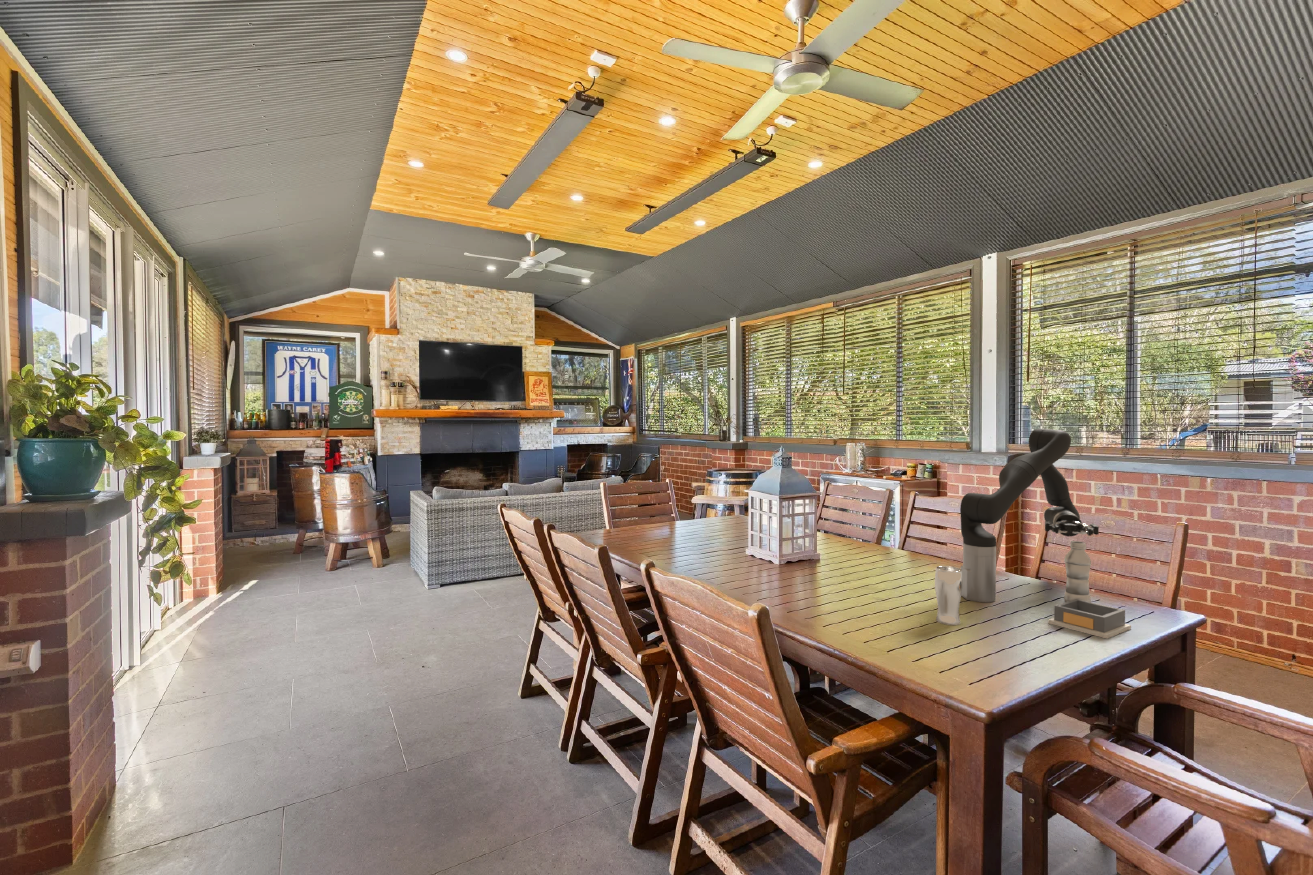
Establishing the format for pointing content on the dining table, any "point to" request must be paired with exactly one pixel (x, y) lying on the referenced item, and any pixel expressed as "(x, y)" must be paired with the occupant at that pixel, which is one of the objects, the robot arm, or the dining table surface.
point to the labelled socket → (1090, 618)
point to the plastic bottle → (1077, 572)
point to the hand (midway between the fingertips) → (1073, 531)
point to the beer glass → (948, 594)
